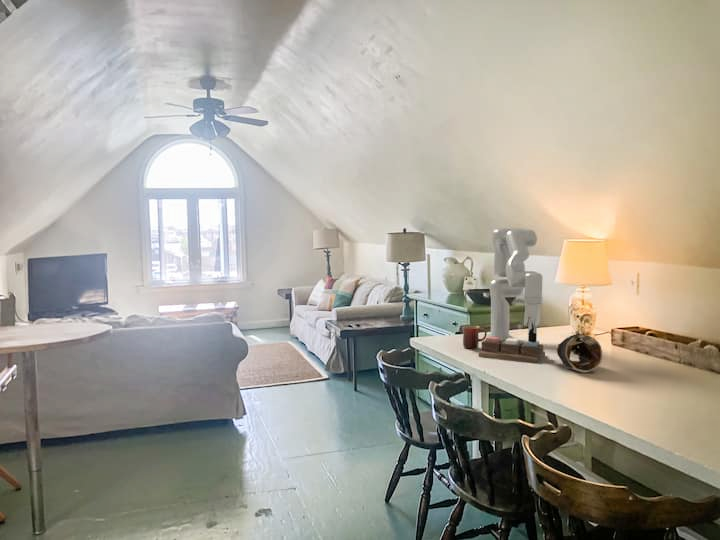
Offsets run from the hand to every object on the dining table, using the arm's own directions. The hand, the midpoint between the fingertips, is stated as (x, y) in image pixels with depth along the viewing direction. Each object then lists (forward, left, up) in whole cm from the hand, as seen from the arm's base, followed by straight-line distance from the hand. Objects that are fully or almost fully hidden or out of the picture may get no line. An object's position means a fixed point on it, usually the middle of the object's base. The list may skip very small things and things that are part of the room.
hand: (532, 341), depth 246 cm
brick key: (0, -18, -4) cm, 18 cm away
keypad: (0, -9, -8) cm, 12 cm away
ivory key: (0, -9, -4) cm, 10 cm away
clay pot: (+5, +19, -8) cm, 21 cm away
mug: (-9, -30, -8) cm, 32 cm away
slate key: (0, 0, -4) cm, 4 cm away
